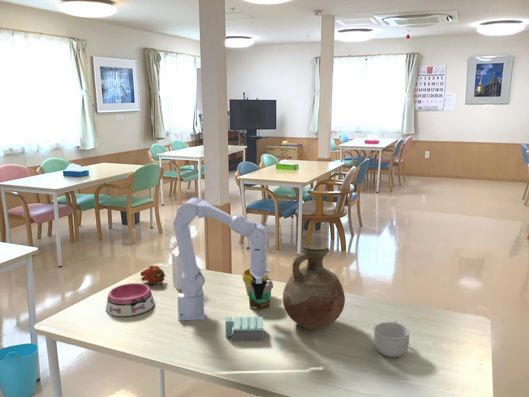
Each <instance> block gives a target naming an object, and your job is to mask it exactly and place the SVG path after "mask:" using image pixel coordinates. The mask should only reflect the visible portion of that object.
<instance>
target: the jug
mask: <svg viewBox="0 0 529 397" xmlns="http://www.w3.org/2000/svg"><path fill="white" fill-rule="evenodd" d="M301 251H302V253H299V254H297V255H296V257H295V258H294V260H293V263H292V268H291V269H292V274H291V275H290V276H289V278H288V280H287V281H286V284H285V286H284V287H283V288H284V289H283V292H282V305H283V307H284V310H285V312H286V314H287V316H288V317H289V318H290V319H291V320H292V322H294V323H296V324H298V325H300V327H301V328H303V329H305V330H311V331H319V330H320V329H324V328H326V327H329V326H330V325H332V324H333V323H334V322H335V321H337V319H338V318H339V317H340V316H341V314H342V312H344V311H343V310H344V308H345V301H346V297H345V292H344V288H343V285H342V284H341V283H342V282H341V281H340V280H339V277H338V276H337V275H336V273H334V272H332V271H330V270H328V269H327V268H325V267H324V263H323V259H324V258H325V257H326V256H327V254H328V253H329V252H330V249H329V247H328V246H327V247H325V248H316V247H310V246H309V245H304V244H302V245H301ZM306 260H307V262H306V263H307V264H306V266H305V267H301V264H302V263H303V262H304V261H306Z"/></svg>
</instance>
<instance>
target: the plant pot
mask: <svg viewBox="0 0 529 397" xmlns="http://www.w3.org/2000/svg"><path fill="white" fill-rule="evenodd" d="M266 277H268V278H269V273H266V275H265V276H264V278H263V281H264V280H266ZM251 280H253V278H252V275H251V274H250V268H247V269H245V270H243V272H242V281H243V283H244V285H245V291H246V294H247V296H248V297H249V292H247V290H248V286H250V287H252V285H251Z"/></svg>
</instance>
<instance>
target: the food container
mask: <svg viewBox="0 0 529 397" xmlns="http://www.w3.org/2000/svg"><path fill="white" fill-rule="evenodd" d="M264 281H267V284H266V286H265V288H264V291H263V296H262V299H261V300H256V298H255V294H254V289H253V287H250V286H248V290H247V291H246V293H247V292H249V296H248V301H249V309H251V310H265V309H269V308H270V306H271V296H272V289H273V288H274V283H273V280H272V278H269V276H268V277H266V280H264Z"/></svg>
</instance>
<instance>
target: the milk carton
mask: <svg viewBox="0 0 529 397" xmlns="http://www.w3.org/2000/svg"><path fill="white" fill-rule="evenodd" d="M171 266H172V284H173V286H174V287H175V289H176V290H177V291H182V290H181V286H182V274H183V268H182V263H181V258H180V254H179V249H178V245H177V246H176V247H175V248H174V249H173V250H172V251H171Z"/></svg>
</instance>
